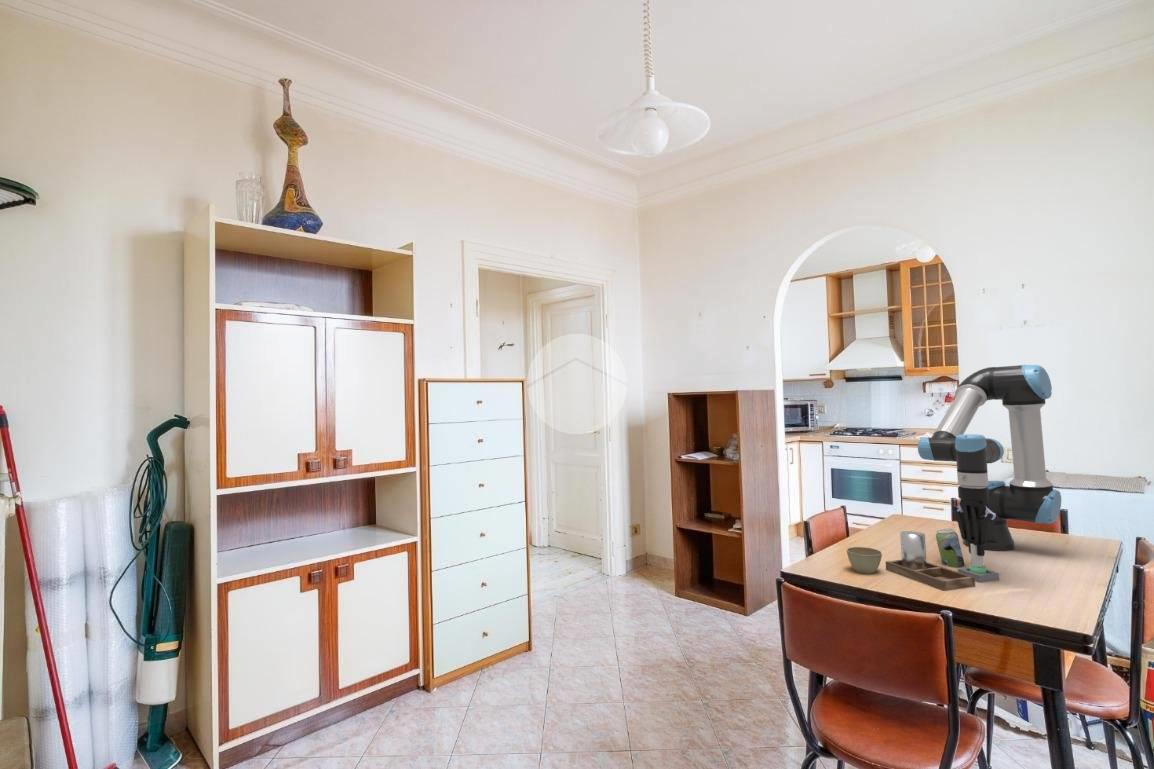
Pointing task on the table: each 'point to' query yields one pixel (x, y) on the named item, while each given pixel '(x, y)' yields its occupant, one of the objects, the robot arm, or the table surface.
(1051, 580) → the table surface
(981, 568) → the button
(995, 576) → the gray soap dish
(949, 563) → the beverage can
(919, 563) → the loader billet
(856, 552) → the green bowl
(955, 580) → the brown compartment tray
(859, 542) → the table surface
